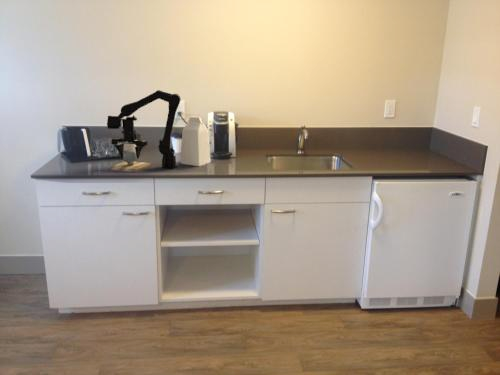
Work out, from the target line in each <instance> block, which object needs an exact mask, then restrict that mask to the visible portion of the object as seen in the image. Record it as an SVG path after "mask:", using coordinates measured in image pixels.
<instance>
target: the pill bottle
mask: <svg viewBox="0 0 500 375" xmlns="http://www.w3.org/2000/svg"><path fill="white" fill-rule="evenodd" d="M135 141H137V140H135ZM126 142H128V141H126ZM135 147H136V145H135V144H126V143H124V146H123V151H125V150H135Z"/></svg>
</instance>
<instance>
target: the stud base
mask: <svg viewBox="0 0 500 375" xmlns="http://www.w3.org/2000/svg"><path fill="white" fill-rule="evenodd" d="M151 166H152V163H151V162H143V161H142V162H141V161H134V162H125V161H124V160H123V161H121V162H119V163H115V164H113V165H110V166H109V171H110V170H112V171H119V172H121V171H122V172H127V173H129V172H131V173H138V172H141V171H143V170H145V169H147V168H150V167H151Z"/></svg>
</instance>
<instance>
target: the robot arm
mask: <svg viewBox="0 0 500 375" xmlns="http://www.w3.org/2000/svg"><path fill="white" fill-rule="evenodd" d="M158 99H159V100H162V101H164V102H165V103H166V102H168V113H167V119H166V123H165V129H164V133H163V136H162V137H163V138H159V142H158V143H159V145H158V147H157V148H158V150H159V151H158V152H159V153H160V154H161V155H162V159H161V169H169V170H170V169H171V170H173V169H175V168H177V167H178V164H177V162H176V161H177V159H176V157H177V156H176V155H175V152H176V150H174V149H173V148H172V132H173V129H174V124H175V118H176V114H177V110H178V107H179V106H180V103H181V96H180V94H178V93H173V94H172V93H170V92H169V93H168V92H165V91H162V90H160V89H159V90H158V89H157V90H156V91H155V92H153V93H151V94H148V95H147V96H145V97H143V98H141V99H139V100H137V101H133V102H129V103H126V104H124V105H122V107H121V108H120V113H119V114H118V115H114V116H113V115H108V116H107V122H106V128H107V129H108V130H119V129H120V128H122V130H121V134H122V137H114V138H111V140H110V142H111V145H113V147H115V148H116V150H117V151H118V153H119V155H120V156H121V158H123V151H124V143H126V144H135V145H136V147H135V150H136V157H137V160H138V159H139V158H140V155H141V152H142V149H143V148H144V147H146V146H148V141H147V139H143V138H142V139H141V135H142V134H141V133H137V131H136V129H135V126H134V124H135V122H136V121H138V118H137V117H136V116H135V115H133V114H134V113H135V112H136V111H138V110H140V109H141V108H142V107H145V106H146V105H149V104H151V103H153V102H154V101H156V100H158ZM131 115H132V116H131ZM135 140H137V141H135ZM126 141H128V142H126Z"/></svg>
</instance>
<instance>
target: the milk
mask: <svg viewBox="0 0 500 375" xmlns="http://www.w3.org/2000/svg"><path fill="white" fill-rule="evenodd" d="M181 132H182V133H181V138H182V139H181V164H182V165H189V166H196V167H201V166H203V165H207V164H210V163H211V149H210V135H209V134H210V133H209V129H208V127H207V126H206V125H205V123H204V122H203V121H202V118H201V116H193V115H192V116H189V118H188V121H187V123H186V124H185V126H184V127H183V129H182V131H181Z"/></svg>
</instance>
